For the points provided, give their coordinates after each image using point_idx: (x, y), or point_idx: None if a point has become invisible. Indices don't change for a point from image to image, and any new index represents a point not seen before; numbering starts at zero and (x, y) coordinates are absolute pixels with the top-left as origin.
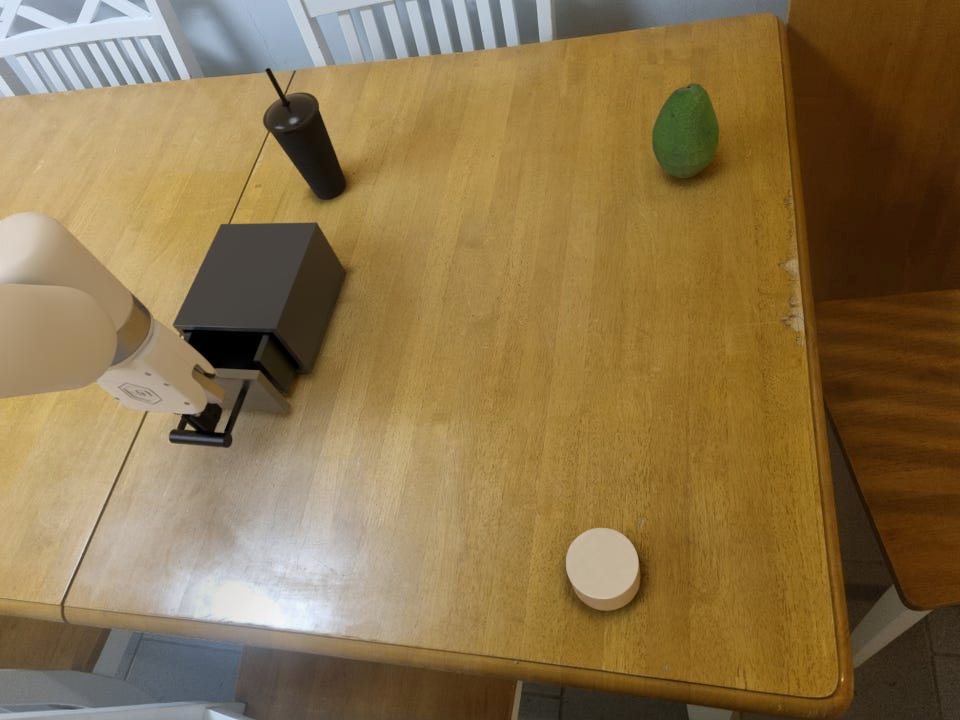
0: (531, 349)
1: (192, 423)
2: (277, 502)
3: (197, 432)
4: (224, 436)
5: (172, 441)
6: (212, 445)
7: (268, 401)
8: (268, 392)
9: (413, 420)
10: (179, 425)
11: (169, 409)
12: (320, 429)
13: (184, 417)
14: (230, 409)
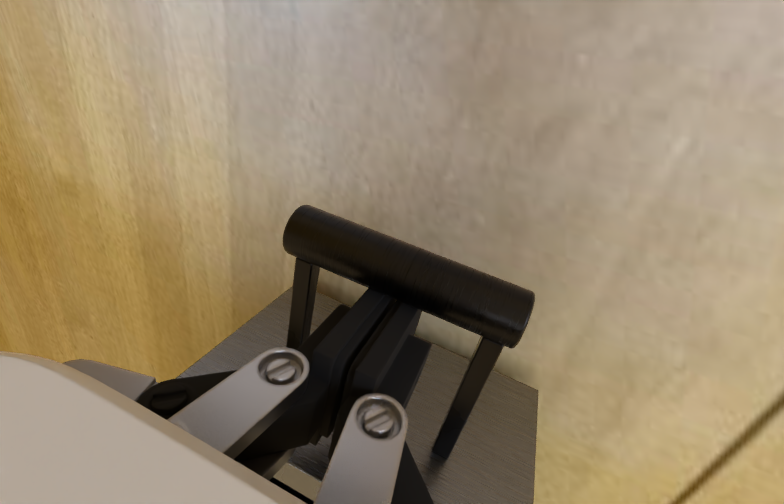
0: (13, 258)
1: (380, 334)
2: (293, 50)
3: (394, 294)
4: (283, 241)
5: (520, 297)
6: (344, 225)
7: (277, 321)
8: (224, 340)
9: (100, 194)
10: (491, 353)
11: (86, 481)
12: (242, 227)
13: (356, 371)
14: (434, 346)
